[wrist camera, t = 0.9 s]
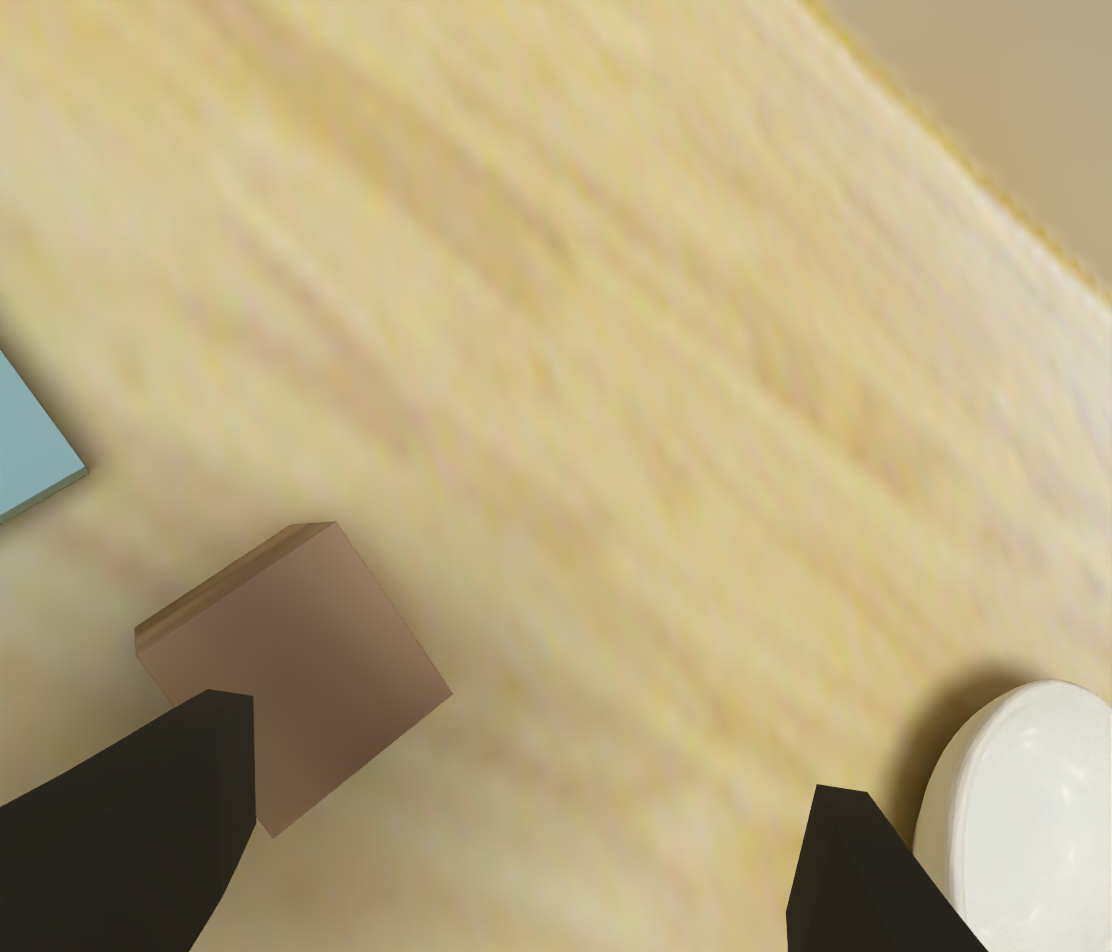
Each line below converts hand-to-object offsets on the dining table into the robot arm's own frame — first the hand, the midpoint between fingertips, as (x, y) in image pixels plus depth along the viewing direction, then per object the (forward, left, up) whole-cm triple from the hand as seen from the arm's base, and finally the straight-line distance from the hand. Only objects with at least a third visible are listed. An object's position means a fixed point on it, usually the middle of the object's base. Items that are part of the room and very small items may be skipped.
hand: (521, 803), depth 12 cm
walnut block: (-1, +1, -14) cm, 14 cm away
